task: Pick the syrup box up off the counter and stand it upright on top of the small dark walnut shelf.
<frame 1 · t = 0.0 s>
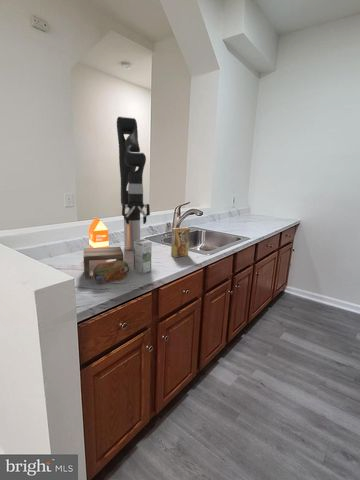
hand: (136, 223, 144), 17 cm above the worktop, tool pointing down, fingers open, 8 cm apart
walnut shelf: (103, 272, 122), on the worktop
syrup box: (142, 271, 126), on the worktop
orange juice: (99, 256, 146), on the worktop
candy box: (179, 255, 150), on the worktop
tin: (111, 281, 114), on the worktop
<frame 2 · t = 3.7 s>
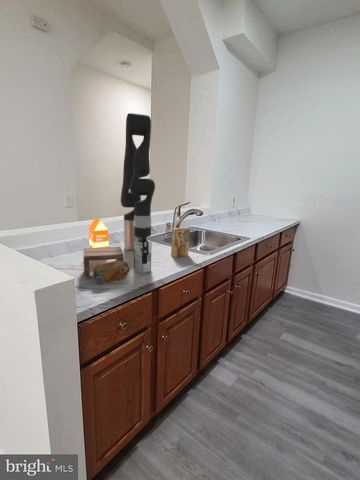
hand: (142, 260, 124), 5 cm above the worktop, tool pointing down, fingers closed on syrup box, 7 cm apart
syrup box: (142, 271, 126), on the worktop, touching gripper
everything else where it was.
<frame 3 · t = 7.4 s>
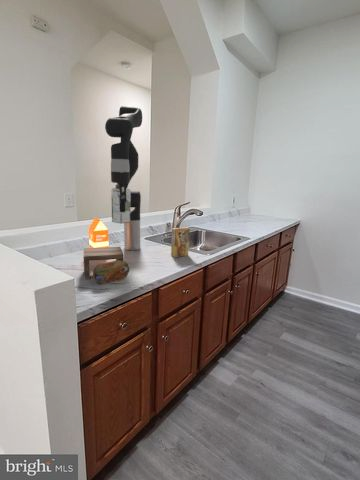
hand: (121, 210, 117), 28 cm above the worktop, tool pointing down, fingers closed on syrup box, 7 cm apart
syrup box: (121, 222, 118), point 23 cm above the worktop, touching gripper
everything else where it was.
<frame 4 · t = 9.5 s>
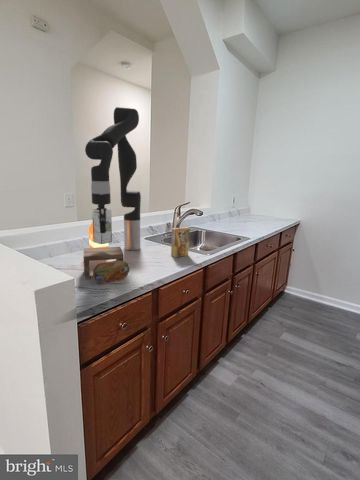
hand: (102, 230, 118), 19 cm above the worktop, tool pointing down, fingers closed on syrup box, 7 cm apart
syrup box: (102, 242, 119), point 14 cm above the worktop, touching gripper
everything else where it was.
when the fingers open (16 cm above the worktop, at t = 11.2 s): syrup box drops 1 cm, resting on walnut shelf.
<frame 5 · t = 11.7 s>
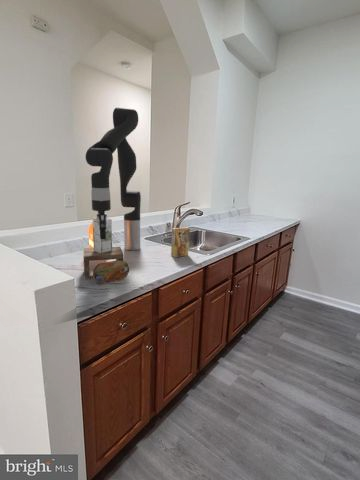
hand: (102, 236, 118), 17 cm above the worktop, tool pointing down, fingers open, 8 cm apart
syrup box: (103, 251, 120), point 10 cm above the worktop, touching gripper, walnut shelf
everything else where it was.
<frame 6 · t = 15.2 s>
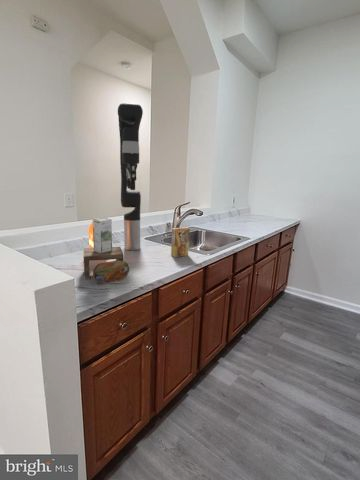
hand: (131, 189, 127), 36 cm above the worktop, tool pointing down, fingers open, 8 cm apart
syrup box: (103, 251, 120), point 10 cm above the worktop, touching walnut shelf
everything else where it was.
at the end: syrup box inside the target area on the walnut shelf (0.2 cm from its centre), point 9.8 cm above the walnut shelf's base; syrup box tilted 0°; the gripper is holding nothing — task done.
